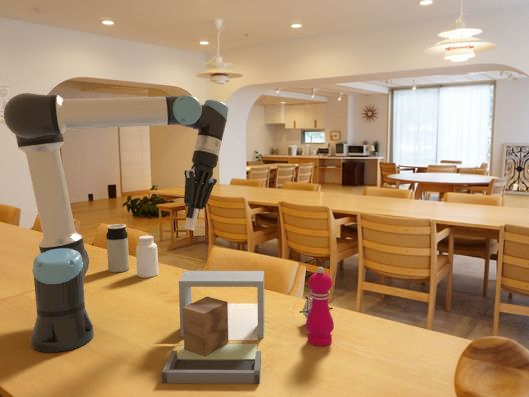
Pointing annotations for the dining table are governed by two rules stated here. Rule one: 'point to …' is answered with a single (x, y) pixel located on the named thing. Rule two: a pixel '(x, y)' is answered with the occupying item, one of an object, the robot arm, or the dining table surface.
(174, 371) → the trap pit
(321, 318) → the pepper mill
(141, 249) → the pill bottle
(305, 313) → the game die
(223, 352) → the pad
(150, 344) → the dining table surface
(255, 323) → the tunnel
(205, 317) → the walnut block
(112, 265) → the travel mug
